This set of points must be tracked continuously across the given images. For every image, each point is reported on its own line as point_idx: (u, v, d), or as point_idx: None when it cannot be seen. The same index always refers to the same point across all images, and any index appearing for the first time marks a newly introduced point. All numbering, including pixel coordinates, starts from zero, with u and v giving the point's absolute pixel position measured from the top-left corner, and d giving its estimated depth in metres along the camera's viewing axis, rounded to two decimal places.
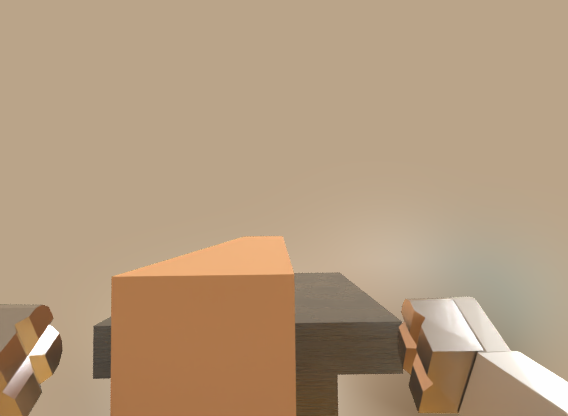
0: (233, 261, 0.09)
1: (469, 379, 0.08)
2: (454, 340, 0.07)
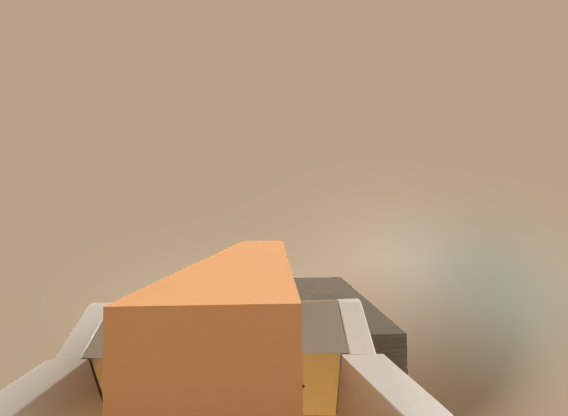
0: (234, 281, 0.08)
1: (339, 382, 0.07)
2: (323, 342, 0.07)
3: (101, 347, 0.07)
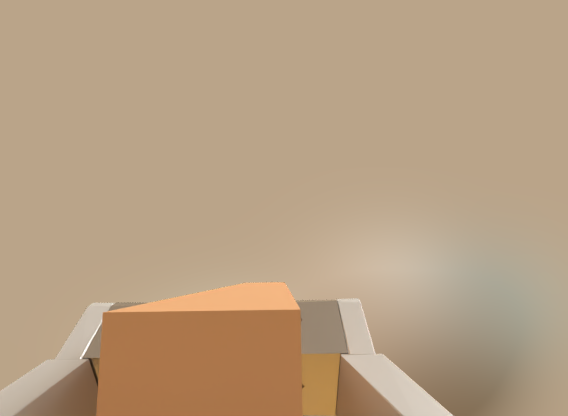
0: (234, 300, 0.08)
1: (339, 381, 0.07)
2: (323, 342, 0.07)
3: None
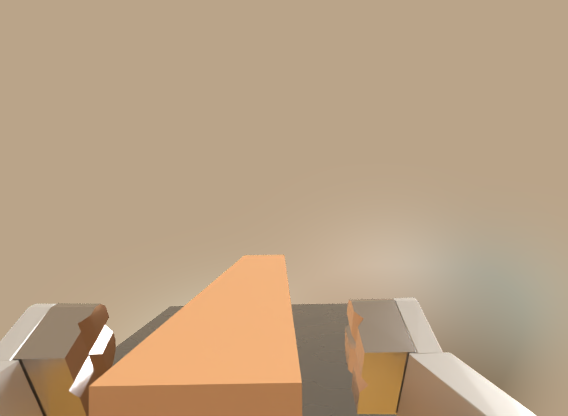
0: (231, 335, 0.08)
1: (404, 380, 0.07)
2: (388, 341, 0.07)
3: (34, 348, 0.07)
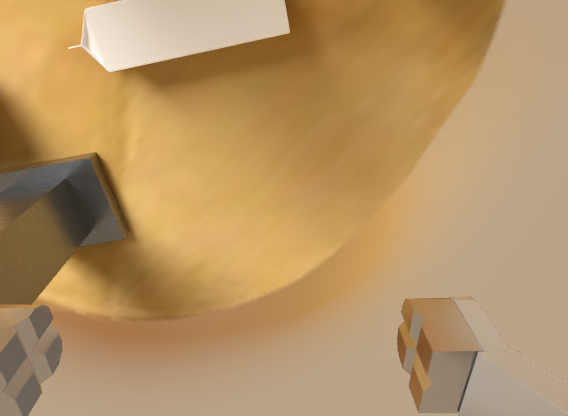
0: None
1: (469, 379, 0.08)
2: (454, 340, 0.07)
3: None
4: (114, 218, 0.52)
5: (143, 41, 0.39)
